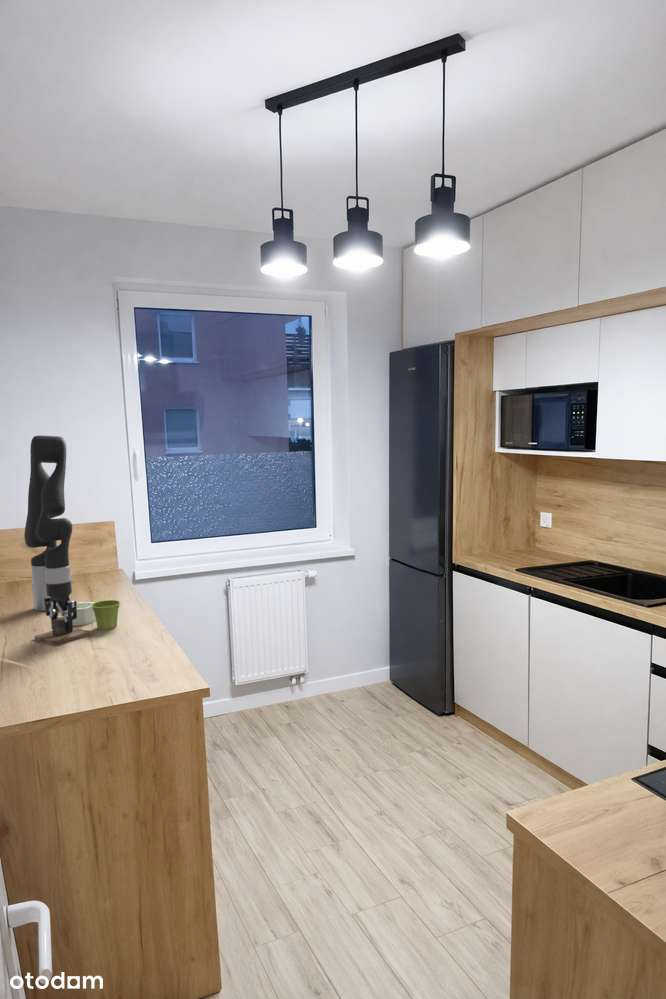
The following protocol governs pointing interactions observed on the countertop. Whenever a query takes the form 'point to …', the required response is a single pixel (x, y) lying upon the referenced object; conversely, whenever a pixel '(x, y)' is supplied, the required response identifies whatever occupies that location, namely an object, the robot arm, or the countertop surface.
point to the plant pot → (106, 613)
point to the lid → (61, 633)
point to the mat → (60, 644)
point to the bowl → (84, 614)
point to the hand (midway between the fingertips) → (62, 630)
